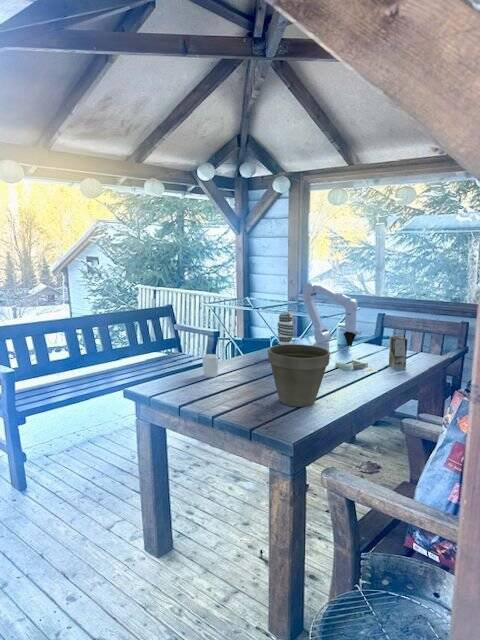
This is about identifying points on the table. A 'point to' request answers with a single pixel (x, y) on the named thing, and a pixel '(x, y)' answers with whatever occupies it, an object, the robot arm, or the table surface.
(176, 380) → the table surface
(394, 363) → the coffee box
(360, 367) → the sliding lid with handle
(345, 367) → the box
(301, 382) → the plant pot
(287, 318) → the decorative candle
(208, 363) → the white cup
